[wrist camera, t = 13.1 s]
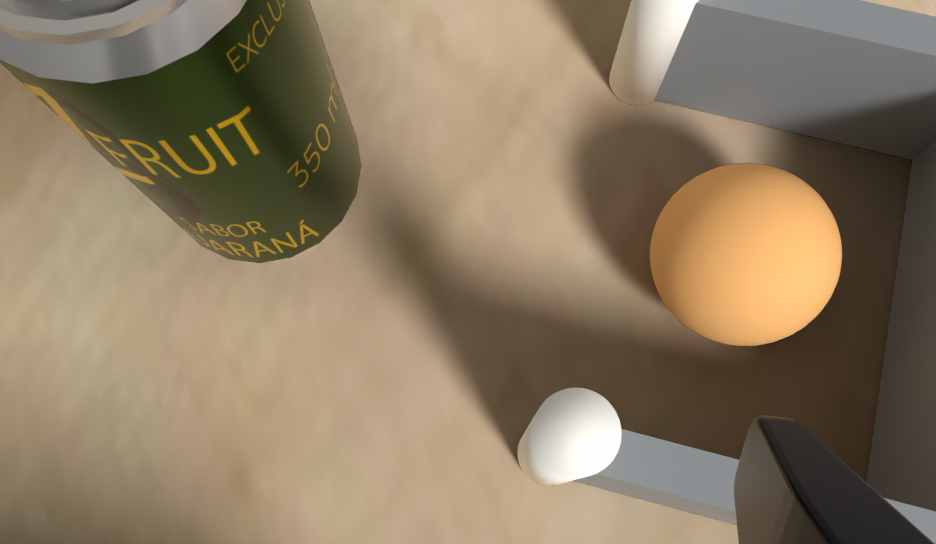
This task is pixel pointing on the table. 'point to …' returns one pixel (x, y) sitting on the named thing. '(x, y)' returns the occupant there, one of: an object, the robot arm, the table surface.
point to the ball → (745, 254)
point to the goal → (804, 112)
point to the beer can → (200, 110)
